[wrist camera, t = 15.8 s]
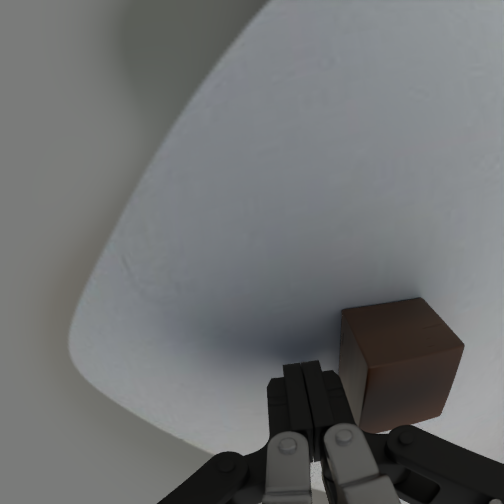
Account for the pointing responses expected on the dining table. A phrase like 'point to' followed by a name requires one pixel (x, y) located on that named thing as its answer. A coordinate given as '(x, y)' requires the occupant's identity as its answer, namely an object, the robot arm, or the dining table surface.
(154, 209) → the dining table surface
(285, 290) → the dining table surface
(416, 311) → the walnut block
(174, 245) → the dining table surface
